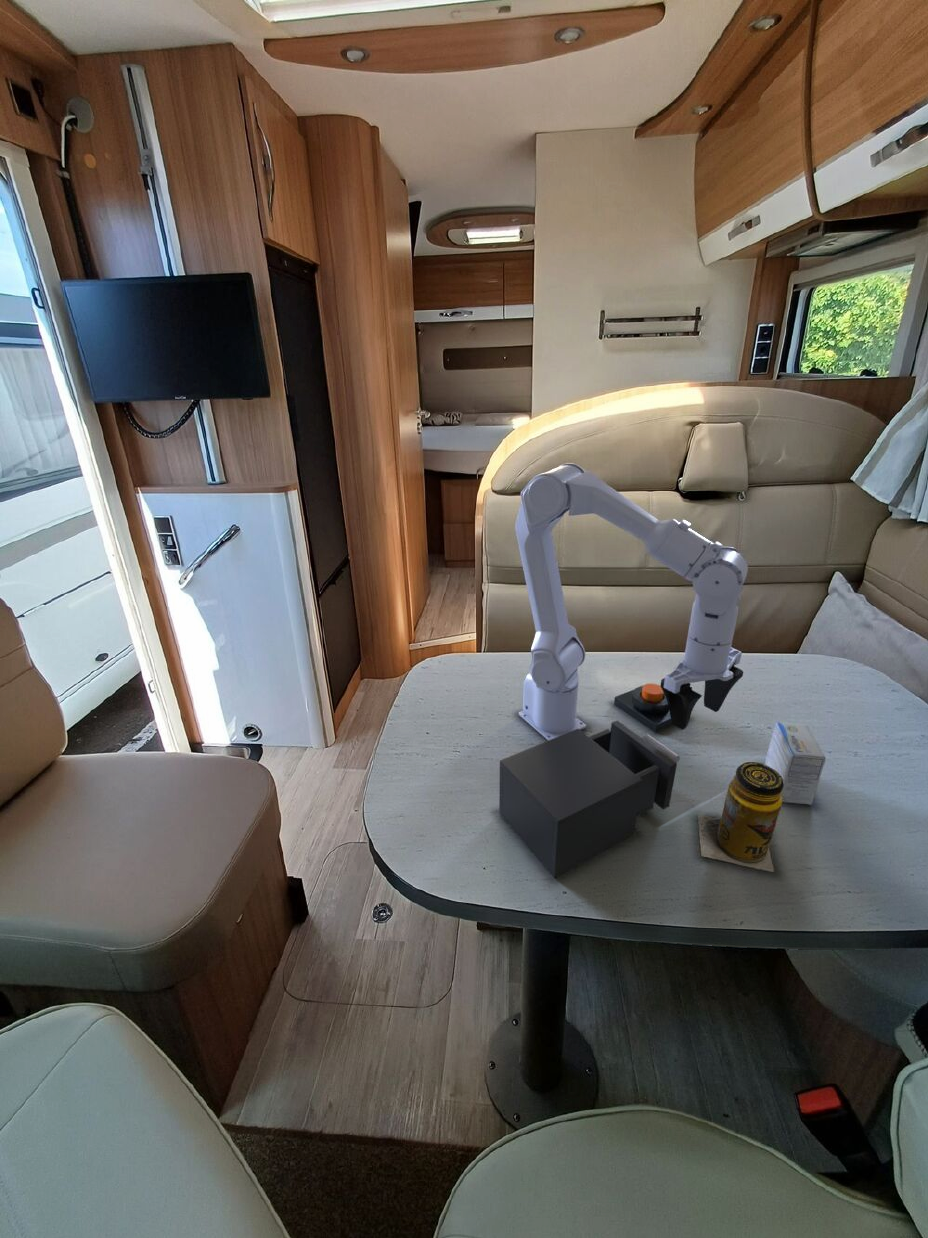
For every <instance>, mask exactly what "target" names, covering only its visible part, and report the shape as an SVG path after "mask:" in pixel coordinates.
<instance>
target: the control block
mask: <svg viewBox="0 0 928 1238" xmlns="http://www.w3.org/2000/svg"><path fill="white" fill-rule="evenodd" d="M644 685H645V684H644ZM644 685H643V684H642V685H640V686H637V687H635V688H634V689H631V690H629V691H626V692H624V693H622V694H621V693H620V694H618V695H615V697H614V701H613V705H614V706H616V707H617V708H619V709H620V710H621V711H623V712H624V713H626V714H627V715H628V716H630V717H631V718H633V719H635V720H636V721H637V722H639V723H640V724H641V725H643V726H645V727H646V728H647V729H649V730H650V731H652V732H653V733H655V734H656V733H658V732H660V731H663V730H665V729H667V728H669V727H671V726H674V725H673V724H672V723H671V717H670V710H669V705H668V702H667V699H666V696H665V694H663V699H662V701H660V702H651V701H647V700H645V699H644V698H642V689H643V686H644Z"/></svg>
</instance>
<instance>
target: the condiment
mask: <svg viewBox="0 0 928 1238" xmlns="http://www.w3.org/2000/svg"><path fill="white" fill-rule="evenodd" d="M735 770H736V771H735V775H734V776H733V779H732V780H731V781H730V783H729V784H728V788H727V792H726V796H725V800H724V805H723V809H722V812H721V816H720V817H721V818H717V817H711V816H709V815H704V814H697V818H698V819H697V821H698V833H699V845H700V846H699V847H700V855H701V857H703V858H709V859H713V860H719V861H722V862H728V863H732V864H736V865H739V866H743V867H749V868H752V869H756V870H762V871H766V872H771V873H772V872H775V869H774V865H773V861H772V857H771V852H770V844H771V843H772V838H773V835H774V832H775V828H776V826H777V821H778V818H779V815H780V812H781V809H782V804H783V802H782V798H781V793H782V789H783V787H784V784H783V779H782V777H781V776H780V775H779V773H778V772H777V771H775V770H774V769H772V768H771V767H769V766H767V765H765V763H760V762H757V761H747V762H744V763H742V764H740V765H739V766H738V767H737V768H736V769H735Z"/></svg>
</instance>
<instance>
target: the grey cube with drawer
mask: <svg viewBox="0 0 928 1238" xmlns="http://www.w3.org/2000/svg"><path fill="white" fill-rule="evenodd" d="M589 737H590V736H588V735H587V734H585V733H584V732H583V731H582V730H579V729H576V730H573V731H571V732H568V733H566V734H563V735H561V736H559V737H556V738H554V739H551V740H549V741H548V740H546V741H544V742H541V743H540V744H539V743H538V744H537V745H534V746H531V747H529V748H527V749H524V750H521V751H520V752H517V753H514V754H512V755H510V756H508V757H505V758H502V759H500V760H499V799H498V800H499V807H498V809H499V815H500V816H501V817H502V819H504V821H505V822H506V823H507V824H508V825H509V827H510V828H511V829H512V830H513V832H515V834H516V835H517V836H518V837H519V838H520V840H521V842H522V843H524V845H525V846H526V847H527V848H528V849H529V850H530V851H531V853H532V854H533V855H534V856H535V857H536V859H537V860H538V861H539V862H540V864H541V865H542V866H543V867H544V868H545V869H546V870H547V872H548V873H549V874H550V875H551V876H552V877H553V878H554V879H555V878H557V877H559V876H561V875H563V874H565V873H566V872H568V871H570V870H572V869H574V868H576V867H577V866H579V865H581V864H583V863H585V862H587V861H589V860H590V859H592V858H594V857H596V856H598V855H600V854H601V853H603V852H605V851H607V850H609V849H611V848H612V847H614V846H616V845H618V844H620V843H622V842H623V841H625V840H627V839H628V838H631V837H633V836H634V835H635V831H636V824H637V819H638V817H637V813H638V806H639V800H640V793H641V786H642V785H641V784H642V779H641V778H639V777H638V776H637V775H636V774H634V773H633V772H632V771H631V770H629V769H628V768H627V767H626V766H624V765H623V764H622V763H621V762H619V761H618V760H617V759H616V758H614V757H613V756H612V755H611V754H609V753H608V752H607V751H605V750H604V749H603V748H602V747H600V746H599V745H598V744H597V743H595V742H594V741H593V740H592V739H590V738H589Z"/></svg>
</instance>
